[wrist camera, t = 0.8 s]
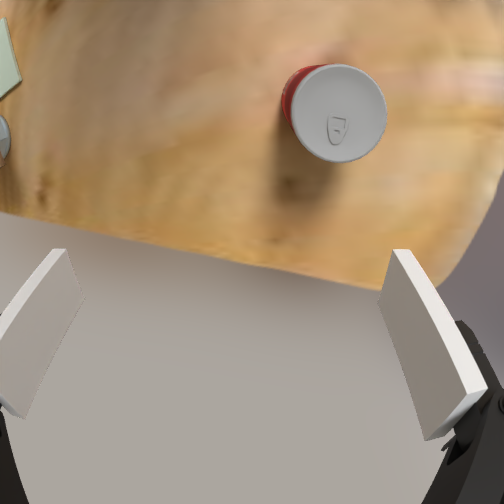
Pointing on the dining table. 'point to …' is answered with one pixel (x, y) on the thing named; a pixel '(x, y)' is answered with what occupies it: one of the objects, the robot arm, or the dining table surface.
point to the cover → (1, 160)
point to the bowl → (4, 137)
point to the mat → (7, 61)
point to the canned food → (335, 111)
